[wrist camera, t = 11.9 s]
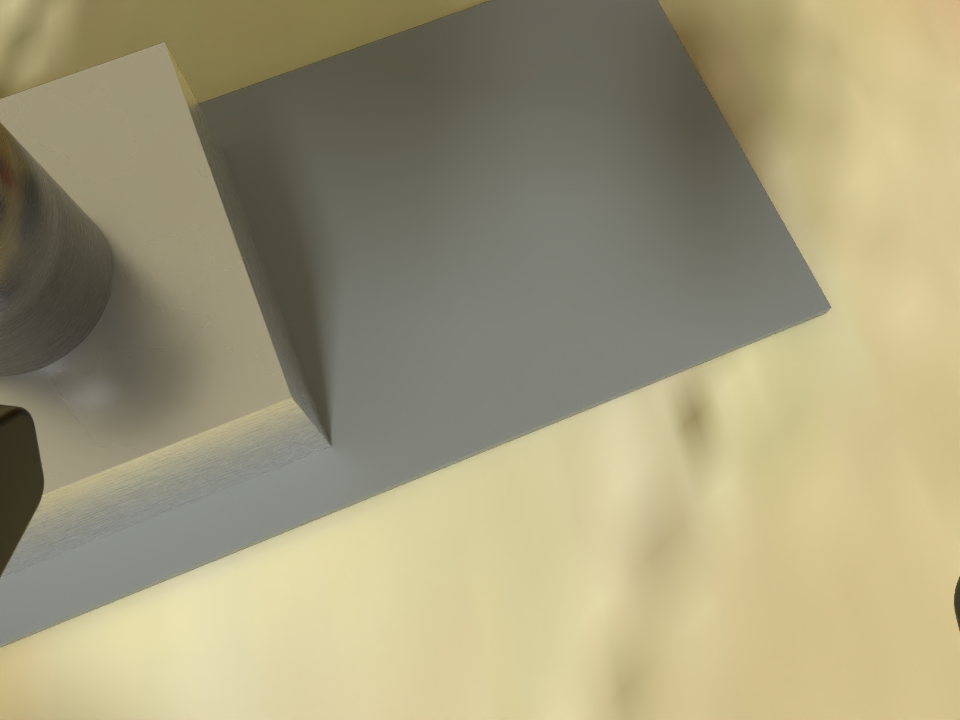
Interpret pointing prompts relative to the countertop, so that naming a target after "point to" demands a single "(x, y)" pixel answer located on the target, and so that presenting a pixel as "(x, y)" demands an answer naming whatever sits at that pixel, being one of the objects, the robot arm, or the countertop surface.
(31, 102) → the grey cylinder on plate
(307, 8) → the countertop surface
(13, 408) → the robot arm
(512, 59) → the slate mat
